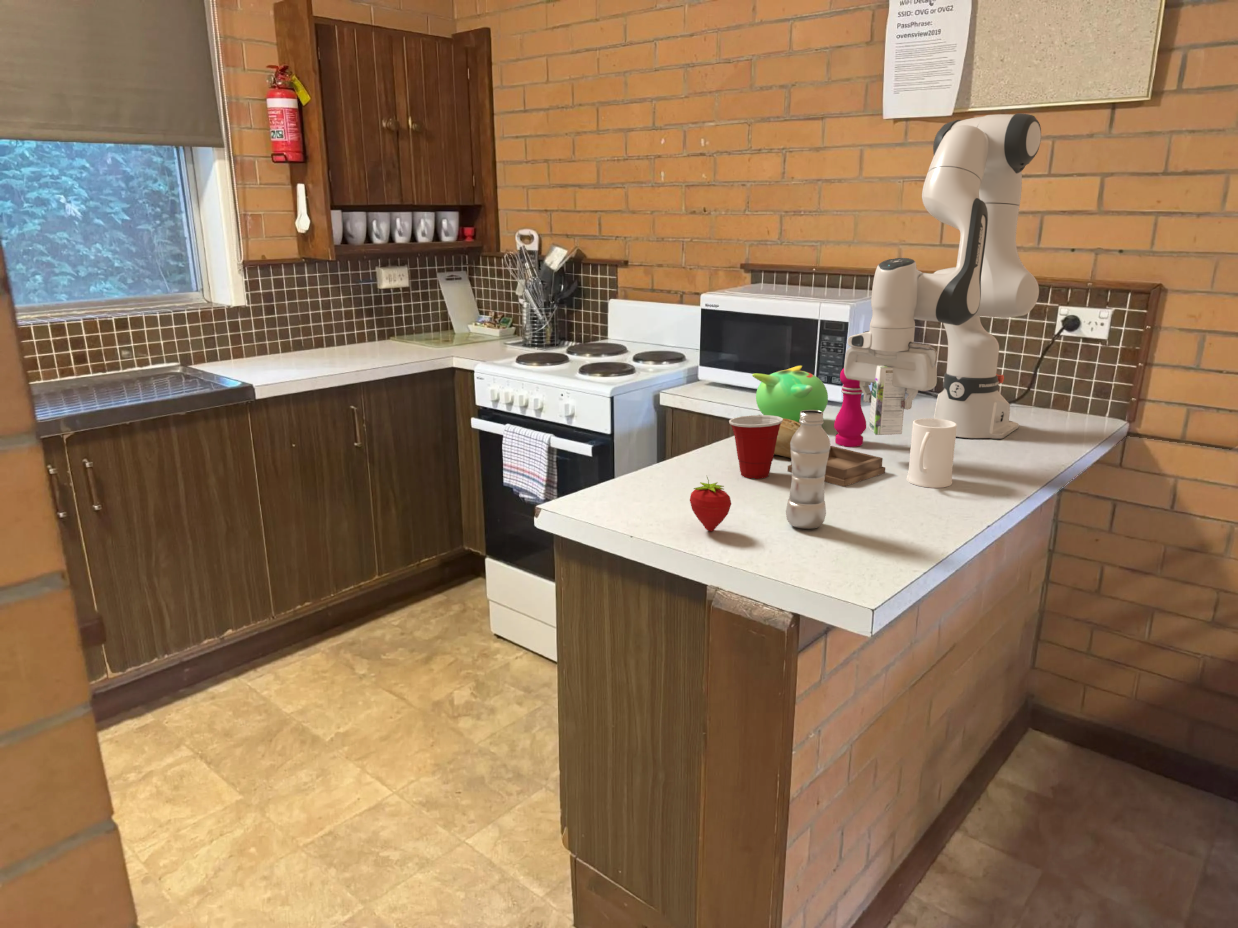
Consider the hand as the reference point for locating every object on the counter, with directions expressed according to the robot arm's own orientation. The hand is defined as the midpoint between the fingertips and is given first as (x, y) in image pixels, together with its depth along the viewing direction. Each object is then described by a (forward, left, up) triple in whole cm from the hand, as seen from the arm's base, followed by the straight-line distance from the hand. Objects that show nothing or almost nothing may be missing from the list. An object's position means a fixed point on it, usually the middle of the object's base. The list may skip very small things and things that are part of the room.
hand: (886, 405), depth 175 cm
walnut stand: (+14, -2, -12) cm, 18 cm away
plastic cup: (+28, -12, -13) cm, 33 cm away
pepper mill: (-7, -14, -13) cm, 20 cm away
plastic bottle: (+44, +14, -13) cm, 47 cm away
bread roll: (+12, -19, -13) cm, 26 cm away
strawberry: (+58, +5, -13) cm, 59 cm away
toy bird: (-12, -35, -13) cm, 39 cm away
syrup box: (0, 0, -6) cm, 6 cm away
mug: (+7, +14, -13) cm, 20 cm away
